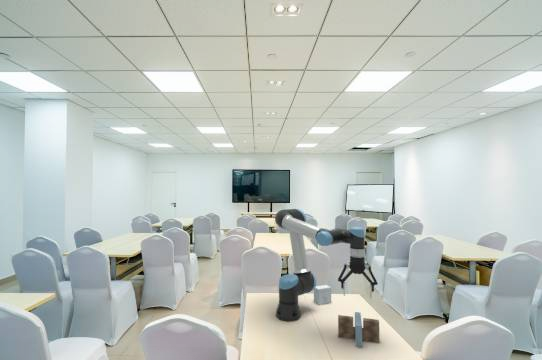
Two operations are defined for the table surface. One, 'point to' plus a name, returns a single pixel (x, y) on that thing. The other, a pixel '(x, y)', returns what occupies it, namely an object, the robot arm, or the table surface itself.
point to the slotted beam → (368, 331)
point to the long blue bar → (358, 329)
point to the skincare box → (322, 294)
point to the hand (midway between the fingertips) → (357, 296)
